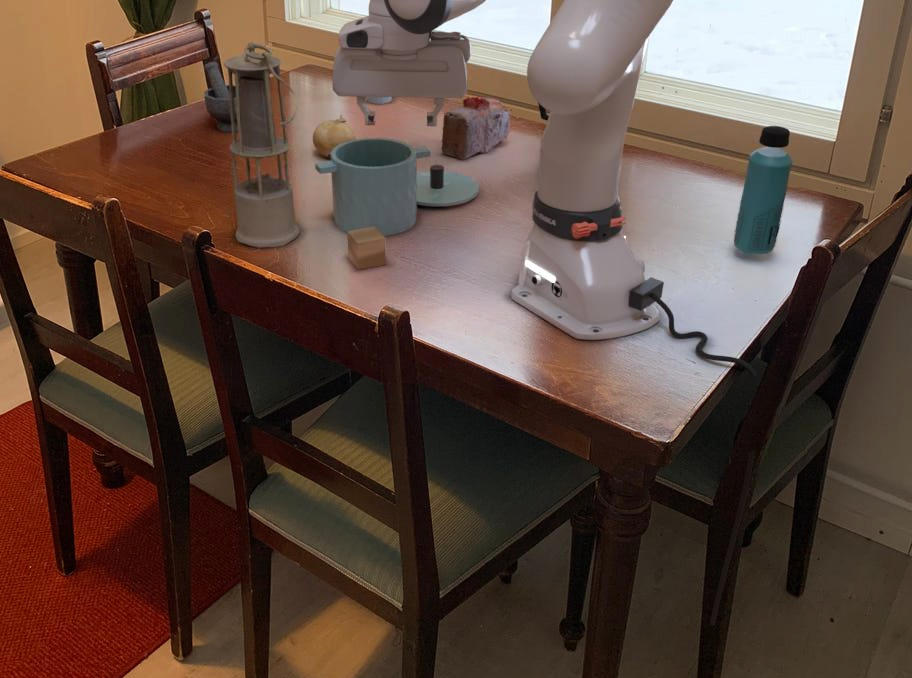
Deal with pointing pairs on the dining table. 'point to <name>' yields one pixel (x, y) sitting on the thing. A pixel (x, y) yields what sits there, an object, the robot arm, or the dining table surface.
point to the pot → (374, 184)
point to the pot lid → (444, 187)
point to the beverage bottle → (764, 193)
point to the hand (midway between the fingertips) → (401, 124)
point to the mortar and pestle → (220, 99)
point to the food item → (474, 127)
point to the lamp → (260, 152)
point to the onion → (331, 135)
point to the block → (366, 248)
